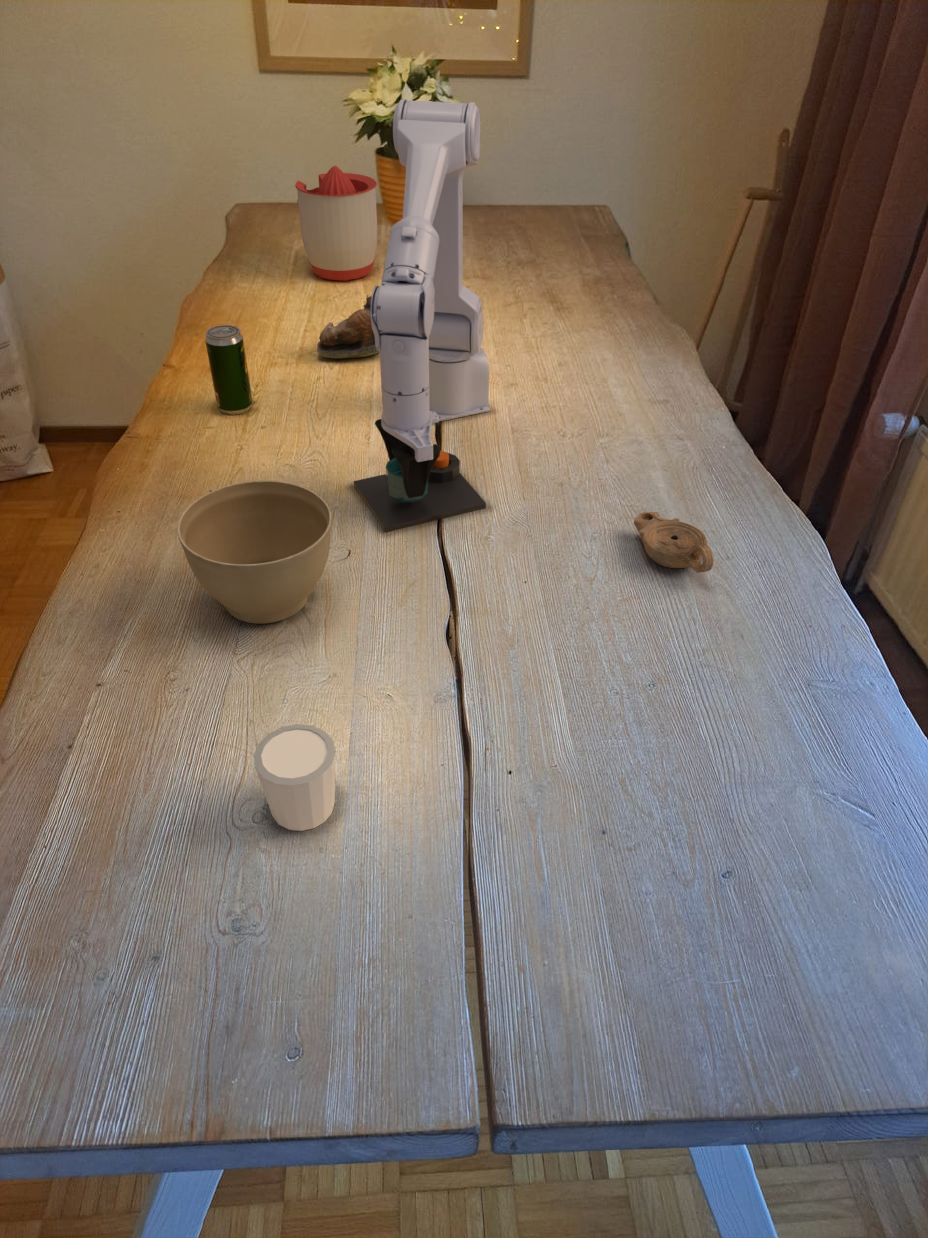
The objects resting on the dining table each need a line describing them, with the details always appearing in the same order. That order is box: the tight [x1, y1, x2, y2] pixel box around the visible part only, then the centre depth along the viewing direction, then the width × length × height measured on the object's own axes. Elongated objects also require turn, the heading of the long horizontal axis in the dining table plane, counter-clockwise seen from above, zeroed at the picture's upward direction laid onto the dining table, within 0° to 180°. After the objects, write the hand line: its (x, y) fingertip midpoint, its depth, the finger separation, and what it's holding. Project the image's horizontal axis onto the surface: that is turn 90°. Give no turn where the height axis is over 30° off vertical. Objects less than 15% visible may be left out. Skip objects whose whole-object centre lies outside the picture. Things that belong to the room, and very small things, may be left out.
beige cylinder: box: [253, 723, 337, 832], centre depth 79 cm, size 7×7×7 cm
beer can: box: [204, 324, 253, 416], centre depth 136 cm, size 5×5×12 cm
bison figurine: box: [316, 294, 380, 359], centre depth 151 cm, size 12×7×10 cm, turn 98°
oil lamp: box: [633, 511, 714, 573], centre depth 109 cm, size 13×8×5 cm, turn 23°
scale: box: [352, 451, 487, 533], centre depth 120 cm, size 14×12×2 cm
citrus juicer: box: [294, 165, 378, 282], centre depth 179 cm, size 16×17×20 cm
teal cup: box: [385, 457, 429, 503], centre depth 116 cm, size 5×5×4 cm
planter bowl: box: [176, 479, 333, 624], centre depth 100 cm, size 16×16×11 cm
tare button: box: [433, 450, 449, 468], centre depth 122 cm, size 3×3×1 cm
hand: (408, 483), depth 116 cm, fingers closed on teal cup, 5 cm apart
